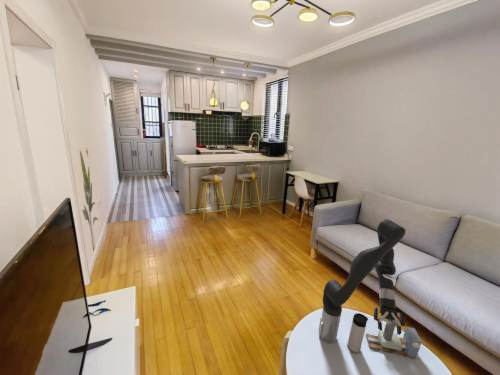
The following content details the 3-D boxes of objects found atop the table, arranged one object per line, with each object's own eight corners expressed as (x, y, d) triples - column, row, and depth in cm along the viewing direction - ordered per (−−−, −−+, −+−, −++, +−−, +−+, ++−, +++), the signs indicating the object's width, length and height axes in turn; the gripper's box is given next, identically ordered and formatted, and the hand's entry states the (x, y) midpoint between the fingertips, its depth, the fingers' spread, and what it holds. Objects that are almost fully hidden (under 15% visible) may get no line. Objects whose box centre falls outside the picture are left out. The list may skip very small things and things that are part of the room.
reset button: (399, 346, 122) (401, 341, 121) (397, 340, 125) (398, 335, 124) (406, 348, 121) (408, 342, 120) (403, 342, 124) (405, 336, 123)
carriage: (381, 346, 122) (387, 326, 118) (377, 335, 129) (382, 315, 125) (400, 350, 120) (406, 330, 117) (395, 338, 127) (401, 319, 123)
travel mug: (362, 354, 119) (369, 323, 114) (348, 351, 121) (355, 320, 115) (359, 344, 125) (366, 313, 120) (346, 341, 127) (352, 311, 121)
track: (369, 348, 123) (370, 345, 123) (365, 335, 131) (366, 332, 130) (416, 359, 119) (417, 355, 118) (409, 345, 126) (410, 341, 126)
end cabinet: (408, 355, 119) (412, 340, 116) (401, 341, 127) (406, 326, 124) (416, 357, 118) (421, 342, 116) (410, 343, 126) (414, 328, 123)
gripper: (375, 295, 127) (377, 329, 120) (404, 300, 125) (408, 336, 117) (371, 296, 134) (372, 329, 126) (398, 302, 131) (401, 335, 123)
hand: (389, 332), depth 122 cm, fingers open, 8 cm apart
